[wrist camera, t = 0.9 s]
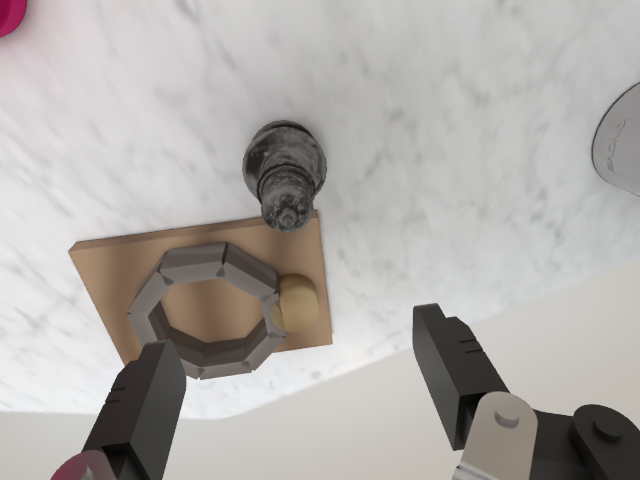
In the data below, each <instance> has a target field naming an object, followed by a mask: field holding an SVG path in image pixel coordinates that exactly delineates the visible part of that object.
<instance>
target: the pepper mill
mask: <svg viewBox="0 0 640 480" xmlns="http://www.w3.org/2000/svg"><path fill="white" fill-rule="evenodd" d="M25 7H26V0H0V37H3V36H5V35H7V34H9V33H11V32H12V31H13V30H14V29H15V28H16V27H17V26H18V25H19V23H20V21H21V20H22V18H23V15H24V12H25Z"/></svg>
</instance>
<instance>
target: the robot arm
mask: <svg viewBox="0 0 640 480" xmlns="http://www.w3.org/2000/svg"><path fill="white" fill-rule="evenodd" d="M593 162H594V165H595V168H596V170H597V172H598V173H599V175H600V176H601V177H602V178H603V179H605V180H606V181H608V182H609V183H611V184H613V185H616V186H618V187H620V188H622V189H624V190H626V191H628V192H630V193H632V194H635V195H637V196H639V197H640V84H638V85H636V86H635V87H633V88H632V89H631V90H629V91H628V92H627V93H625V94H624V95H623V96H622V97H621V98H620V99H619V100H618V101H617V102H616V103H615V104H614V105H613V107H612V108H611V109H610V111H609V112H608V113H607V115H606V116H605V117H604V119H603V121H602V123H601V125H600V127H599V129H598V131H597V134H596V137H595V140H594V146H593ZM413 349H414V353H415V357H416V360H417V362H418V365H419V367H420V370H421V372H422V375H423V377H424V380H425V382H426V384H427V387H428V389H429V392H430V394H431V397H432V399H433V402H434V404H435V407H436V409H437V412H438V414H439V417H440V419H441V422H442V424H443V427H444V429H445V432H446V434H447V436H448V439H449V441H450V444H451V447H452V449H453V451H456V450H462V449H464V452H463V455H462V458H461V461H460V464H459V466H457V467H456V469H455V472H454V474H453V478H452V480H640V431H639V429H638V428H637V427H636V426H635V425H634V424H633V423H632V422H631V421H630V420H629V419H628V418H626V417H625V416H624V415H622V414H621V413H619V412H617V411H615V410H613V409H611V408H608V407H605V406H601V405H594V404H593V405H592V404H589V405H584V406H581V407H579V408H578V409H577V410H576V411H575V413H574V415H573V416H566V415H560V414H553V413H546V412H541V411H538V410H535V409H532V408H531V407H530V405H529V404H527V403H526V402H525V401H524V400H522V399H521V398H519V397H517V396H515V395H513V394H511V393H510V392H509V390H508V389H507V387H506V386H505V384H504V382H503V381H502V379H501V378H500V376H499V374H498V373H497V371H496V369H495V368H494V366H493V365H492V363H491V362H490V360H489V358H488V357H487V355H486V353H485V352H483V349H482V347H481V346H480V344H479V342H478V341H477V340H476V337H475V336H474V334H473V333H472V331H471V329H470V328H469V326H468V325H466V324H465V323H464V322H462V321H461V320H460V319H458V318H457V317H448V318H446V317H445V315H444V314H443V312H442V310H441V308H440V307H439V305H438V304H437V303H433V304H426V305H419V306H414V308H413ZM185 391H186V374H185V370H184V368H183V365H182V363H181V360H180V358H179V355H178V352H177V350H176V347H175V345H174V343H173V341H172V340H171V339H168V340H160V341H153V342H147V343H146V344H145V345H144V347H143V349H142V351H141V353H140V356H139V358H138V360H134V361H130V362H129V363H128V364H127V365H126V366H125V367H124V368H123V369H122V371H121V372H120V373H119V374H118V375H117V377H116V379H115V382H114V384H113V386H112V388H111V392H109V394H108V396H107V399H106V401H105V404H104V405H103V407H102V409H101V411H100V413H99V416H98V418H97V420H96V422H95V424H94V426H93V428H92V431H91V433H90V435H89V437H88V439H87V441H86V443H85V445H84V447H83V450H82V451H81V453H79V454H77V455H75V456H73V457H72V458H70V459H69V460H68V461H66V462H65V463H64V464H63V465H62V466H61V467H60V468H59V469H58V470H57V471H56V472H55V473H54V475H53V476H52V478H51V480H162V478H163V474H164V470H165V467H166V463H167V459H168V455H169V451H170V448H171V444H172V440H173V436H174V433H175V429H176V425H177V421H178V418H179V414H180V410H181V406H182V402H183V399H184V395H185Z"/></svg>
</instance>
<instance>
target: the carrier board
mask: <svg viewBox="0 0 640 480" xmlns="http://www.w3.org/2000/svg"><path fill="white" fill-rule="evenodd" d="M68 253H69V255H70V257H71V259H72V261H73V263H74V265H75V267H76V269H77V271H78V273H79V275H80V277H81V279H82V281H83V283H84V285H85V287H86V289H87V291H88V293H89V295H90V297H91V299H92V301H93V303H94V305H95V307H96V309H97V311H98V313H99V315H100V317H101V319H102V321H103V323H104V325H105V327H106V329H107V331H108V333H109V335H110V337H111V339H112V341H113V343H114V345H115V347H116V349H117V351H118V353H119V355H120V357H121V359H122V361H123V363H124V365H125V366H126V365H127V364H128V363H129V362H130V361H134V360H138V358H139V356H140V353H141V351H142V349H143V347H144V345H145V344H146V343H147V342H153V341H160V340H168V339H171V340H172V341H173V343H174V345H175V347H176V350H177V352H178V355H179V358H180V360H181V363H182V365H183V368H184V370H185V374H186V375H187V376H189V377H192V378H194V379H196V380H197V378H198V377H199V378H200V380H204V379H210V378H217V377H224V376H231V375H237V374H244V373H251V372H252V370H254V371H255V370H256V369H257V368H258V367H259V366H260V365H261V364H262V363H263V362H264V361H265V360H266V359H267V358H268V357H269V355H270V354H271V353H276V352H282V351H289V350H296V349H303V348H310V347H316V346H323V345H330V344H333V343H332V334H331V325H330V316H329V308H328V299H327V290H326V282H325V273H324V264H323V256H322V247H321V238H320V230H319V221H318V215H317V210H313V214H312V217H311V219H310V221H309V223H308V224H307V225H306V226H305V227H304V228H302V229H301V230H299V231H296V232H293V233H281V232H278V231H275V230H273V229H272V228H270V227H269V226H268V225H267V224H266V222H265V220H264V218H263V217H261V218H253V219H246V220H238V221H231V222H224V223H216V224H209V225H201V226H194V227H186V228H179V229H171V230H164V231H157V232H149V233H142V234H134V235H127V236H119V237H112V238H105V239H97V240H90V241H82V242H76V243H75V244H74V245H73V246H72V248H71V249H70V250H69V251H68Z"/></svg>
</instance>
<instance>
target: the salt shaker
mask: <svg viewBox="0 0 640 480" xmlns="http://www.w3.org/2000/svg"><path fill="white" fill-rule="evenodd" d="M242 171H243V176H244V180H245V183H246V185H247V186H248V188H249V190H250V191H251V193H252V194H253V195H254V196H255V197H256V198H257V199H258V200H259V202H260V204H261V205H262V206H261V212H262V216H263V218H264V220H265V222H266V224H267V225H268V226H269V227H270V228H272V229H273V230H275V231H278V232H281V233H293V232H296V231H299V230H301V229H302V228H304V227H305V226H306V225H307V224H308V223H309V221H310V219H311V217H312V214H313V200H314V198H315V196H316V195H317V193H318V192H319V191H320V190H321V188H322V186H323V184H324V182H325V178H326V172H327V166H326V159H325V156H324V153H323V151H322V149H321V147H320V146H319V144H318V143H317V142H316V140H314V138H313V137H312V135H311V134H310V132H309V131H308V130H306V129H305V128H304V127H303V126H301V125H299V124H297V123H294V122H290V121H276V122H273V123H270V124H268V125H266V126H264V127H263V128H262V129H261V130H259V131H258V133H257V134H256V135H255V137H254V138H253V141H252V143H251V144H250V145H249V147H248V148H247V150H246V153H245V156H244V158H243V169H242Z"/></svg>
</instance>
